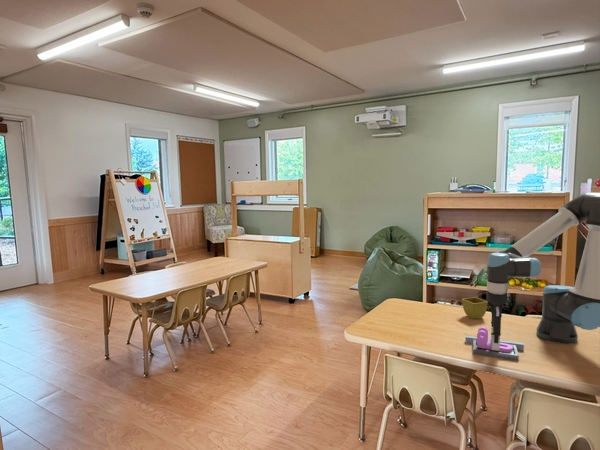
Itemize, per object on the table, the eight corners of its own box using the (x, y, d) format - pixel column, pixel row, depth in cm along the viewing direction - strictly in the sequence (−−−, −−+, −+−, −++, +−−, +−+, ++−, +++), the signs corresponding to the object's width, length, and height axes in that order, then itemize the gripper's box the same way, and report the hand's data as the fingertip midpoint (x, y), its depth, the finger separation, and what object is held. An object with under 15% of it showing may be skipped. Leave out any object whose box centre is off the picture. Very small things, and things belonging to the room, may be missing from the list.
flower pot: (461, 315, 198) (461, 298, 197) (474, 313, 200) (475, 296, 199) (473, 321, 190) (474, 303, 188) (487, 318, 192) (488, 301, 191)
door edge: (523, 348, 159) (523, 343, 158) (523, 350, 157) (523, 344, 157) (465, 340, 167) (465, 335, 167) (465, 342, 166) (465, 337, 165)
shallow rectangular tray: (515, 349, 158) (515, 345, 157) (518, 360, 149) (518, 355, 148) (473, 344, 164) (473, 339, 164) (473, 354, 155) (473, 349, 155)
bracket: (476, 347, 157) (477, 330, 156) (477, 342, 162) (478, 326, 161) (512, 353, 150) (513, 336, 150) (513, 347, 155) (513, 331, 154)
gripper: (510, 299, 143) (507, 358, 146) (505, 286, 160) (503, 338, 163) (487, 297, 146) (485, 355, 149) (485, 284, 163) (483, 336, 166)
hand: (495, 346), depth 156 cm, fingers closed on bracket, 6 cm apart
